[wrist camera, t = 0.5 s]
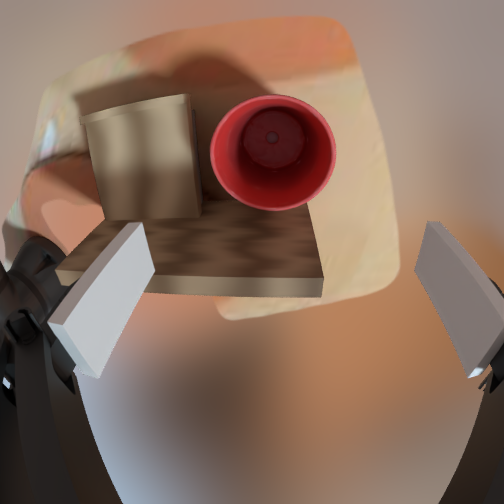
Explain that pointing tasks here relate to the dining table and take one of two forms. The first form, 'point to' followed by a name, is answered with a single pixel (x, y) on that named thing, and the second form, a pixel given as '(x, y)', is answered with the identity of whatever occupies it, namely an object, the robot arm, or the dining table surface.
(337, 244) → the dining table surface
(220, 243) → the wooden board
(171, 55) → the dining table surface
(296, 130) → the flower pot
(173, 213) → the small wooden stand
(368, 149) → the dining table surface
